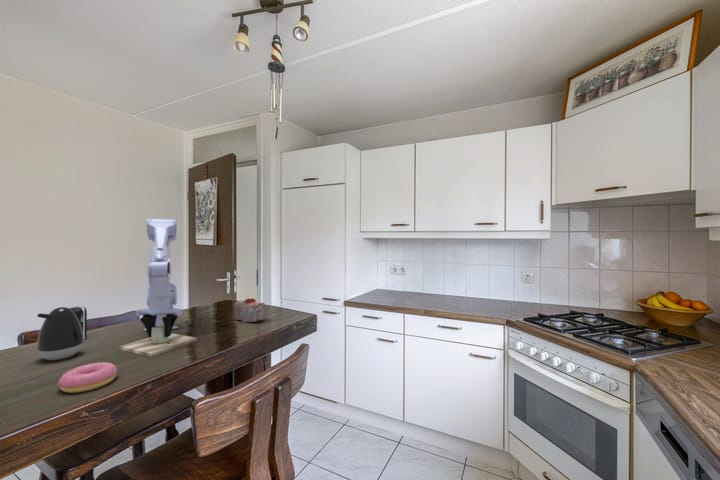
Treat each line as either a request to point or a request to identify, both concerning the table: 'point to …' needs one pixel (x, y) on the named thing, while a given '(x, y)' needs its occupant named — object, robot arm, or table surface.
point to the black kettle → (59, 334)
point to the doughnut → (87, 377)
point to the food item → (249, 310)
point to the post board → (157, 345)
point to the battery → (81, 318)
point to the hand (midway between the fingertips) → (159, 336)
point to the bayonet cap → (158, 334)
